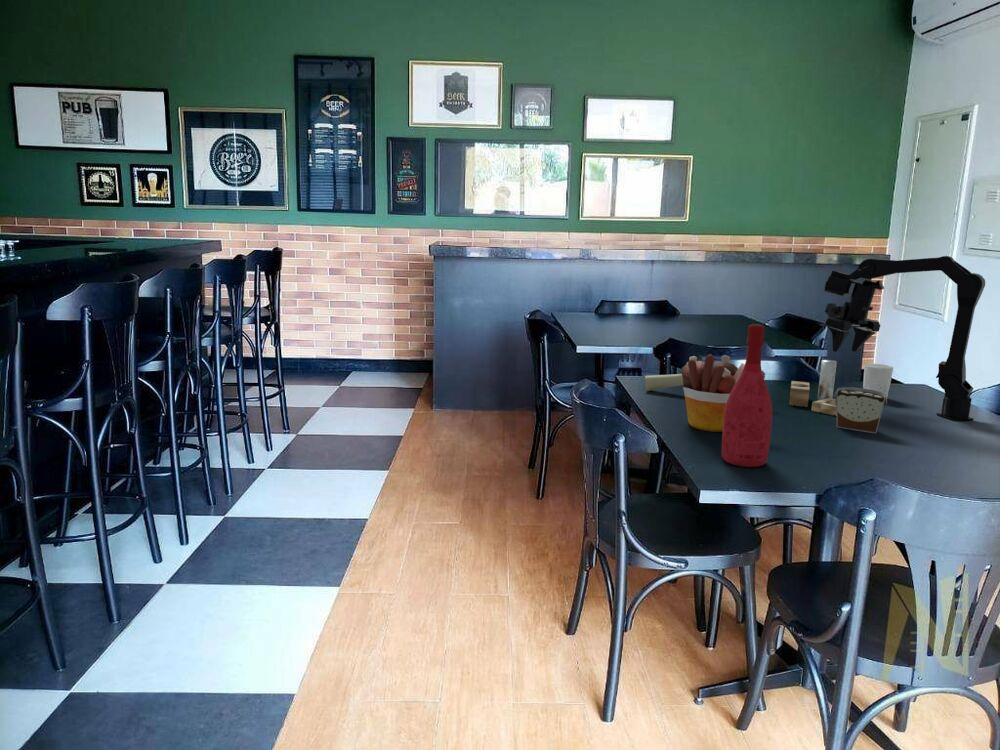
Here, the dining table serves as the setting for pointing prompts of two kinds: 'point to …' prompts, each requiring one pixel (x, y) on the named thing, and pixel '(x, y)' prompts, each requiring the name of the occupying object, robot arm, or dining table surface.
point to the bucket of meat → (708, 390)
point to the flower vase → (666, 381)
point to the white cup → (877, 377)
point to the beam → (799, 393)
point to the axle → (826, 379)
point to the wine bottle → (748, 410)
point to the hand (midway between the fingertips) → (844, 351)
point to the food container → (859, 409)
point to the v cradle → (825, 406)
